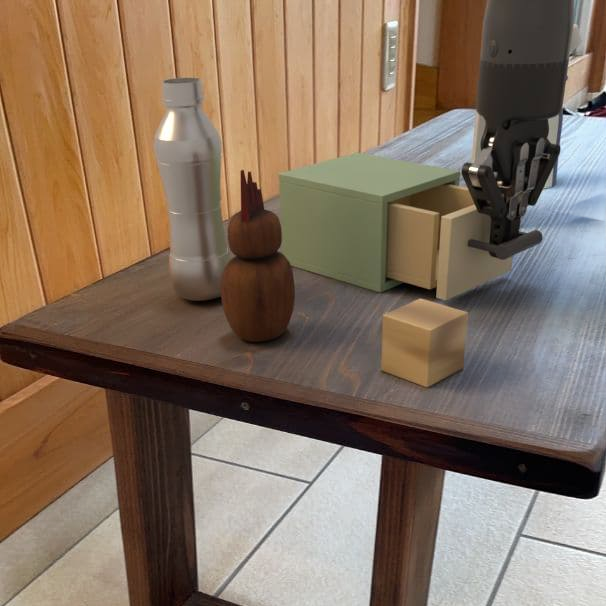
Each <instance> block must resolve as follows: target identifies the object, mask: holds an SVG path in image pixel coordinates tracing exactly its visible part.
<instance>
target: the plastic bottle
mask: <svg viewBox="0 0 606 606" xmlns="http://www.w3.org/2000/svg"><path fill="white" fill-rule="evenodd" d="M161 91H162V98H161V100H162V105H163V106H165V108H166V109H165V112H164V115H163V116H162V119H161V120H160V122H159V125H158V127H157V130H156V132H155V134H154V139H153V145H152V146H153V152H154V157H155V161H156V165H157V168H158V173H159V176H160V180H161V185H162V188H163V194H164V199H165V200H164V201H165V204H166V207H167V208H166V211H167V217H168V229H169V230H168V231H169V232H168V233H169V251H170V252H169V258H168V276H169V279H170V283H171V286H172V289H173V290H174V292H175V293H176V294H177V295H178V296H179V297H180V298H181V299H184V300H188V301H208V300H209V301H210V300H213V299H217V298H220V297H221V277H222V274H223V271H224V267H225V266H226V265H227V263H228V262H229V261H230V260H231V259H232V258H231V254H230V251H229V247H228V245H227V239H226V232H225V227H224V220H223V215H222V212H223V211H222V203H221V201H222V192H221V191H222V189H221V176H222V153H223V149H222V147H223V145H222V143H223V142H222V139H221V136H220V133H219V131H218V129H217V127H216V126H215V125H214V123H213V121H212V120H211V119H210V117H209V116H208V114H207V113H206V112H205V111H204V110H203V106H202V104H203V103H205V95H204V94H203V93H204V92H203V91H204V90H203V81H202V79H201V78H198V77H175V78H167V79H163V80H162V81H161Z"/></svg>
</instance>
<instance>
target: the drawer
mask: <svg viewBox="0 0 606 606" xmlns="http://www.w3.org/2000/svg"><path fill="white" fill-rule="evenodd" d="M490 229H491V217H490V216H489V215H485V214H481V213H478V211H477V209H476V206H475V204H474V202H473V199H472V197H471V195H470V192H469V190H468V188H467V186H462V185H459V186H456V185H451V184H443V185H439V186H436V187H433V188H430V189H427V190H424V191H421V192H418V193H415V194H412V195H409V196H406V197H403V198H400V199H397V200H394V201H391V202H388V203H387V239H386V273H385V277H388V278H391V279H395V280H398V281H402V282H404V283H406V284H409V285H412V286H416V287H420V288H423V289H427V290H432V289H434V288H436V292H435V293H436V295H435V296H436V299H439V300H442V301H448V300H450V299H452V298H454V297H457V296H458V295H461V294H464V293H466V292H468V291H470V290H472V289H474V288H476V287H478V286H481V285H483V284H485V283H488V282H490V281H492V280H494V279H495V278H498V277H501V276H502V275H505V274H507V273H509V272H511V271H512V266H513V260H514V259H513V258H514V256H516V255H517V254H520V253H522V252H525V251H527V250H529V249H531V248H533V247H535V246H538V245H540V244H541V243H542V242H543V238H544V237H543V236H544V235H543V234H542V232H541V231H540V230H538V229H534V230H532V231H528V232H524V231H521V230H519V236H518V237H517V238H515V239H512V240H510V241H507V242H505V243H503V244H500V245H495V244H490V243H489V241H490V240H489V239H490ZM489 252H493V253H496V256H497V258H495V257H492V256H490V254H489ZM513 255H514V256H513ZM511 256H512V257H511ZM506 258H507V259H506ZM504 259H505V260H504Z"/></svg>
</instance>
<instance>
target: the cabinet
mask: <svg viewBox="0 0 606 606" xmlns="http://www.w3.org/2000/svg"><path fill="white" fill-rule="evenodd" d="M460 179H461V171H460V170H457V169H456V170H455V169H452V168H451V169H450V168H445V167H439V166H434V165H428V164H422V163H417V162H412V161H407V160H401V159H394V158H391V157H384V156H379V155H372V154H369V153H361V152H353V153H349V154H347V155H343V156H339V157H335V158H332V159H327V160H323V161H320V162H315V163H312V164H309V165H305V166H301V167H298V168H294V169H291V170H287V171H283V172H279V173H278V195H279V215H280V216H279V217H280V218H279V221H280V224H281V231H282V243H281V253H282V254H283V255H285V257H286V258H287V259H288V261H289V262H290V265H291V267H294V268H298V269H301V270H303V271H308V272H311V273H313V274H317V275H320V276H324V277H327V278H330V279H334V280H337V281H341V282H343V283H347V284H350V285H354V286H358V287H360V288H364V289H367V290H370V291H373V292H377V293H383V292H385V291H388V290H390V289H393V288H395V287H397V286H400V285H402V284H404V283H405V282H402V281H398V280H395V279H391V278H388V277H385V273H386V239H387V203H388V202H391V201H394V200H397V199H400V198H403V197H406V196H409V195H412V194H415V193H418V192H421V191H424V190H427V189H430V188H433V187H436V186H439V185H443V184H451V185H456V186H460V182H461V181H460Z"/></svg>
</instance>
